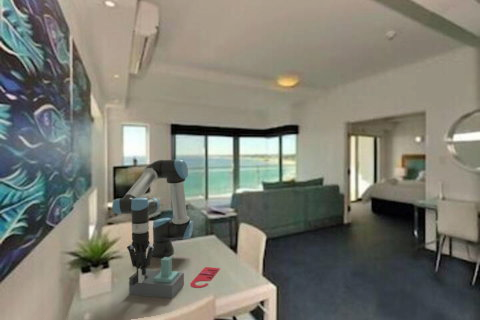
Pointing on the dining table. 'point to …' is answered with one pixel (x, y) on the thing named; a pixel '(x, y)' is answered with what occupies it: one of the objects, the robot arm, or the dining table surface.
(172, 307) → the dining table surface
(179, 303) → the dining table surface
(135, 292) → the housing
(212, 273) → the door hanger
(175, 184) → the robot arm
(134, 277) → the grey lever handle
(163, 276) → the cover
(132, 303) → the dining table surface
